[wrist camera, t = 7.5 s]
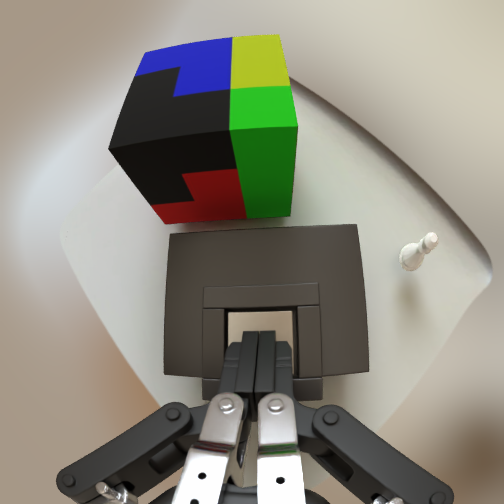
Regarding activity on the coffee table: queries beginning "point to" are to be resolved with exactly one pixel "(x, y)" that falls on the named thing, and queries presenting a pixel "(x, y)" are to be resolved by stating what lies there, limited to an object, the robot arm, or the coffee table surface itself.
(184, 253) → the dark grey block
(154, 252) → the coffee table surface
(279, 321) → the beige push button
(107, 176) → the coffee table surface
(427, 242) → the chess pawn
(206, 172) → the puzzle toy
